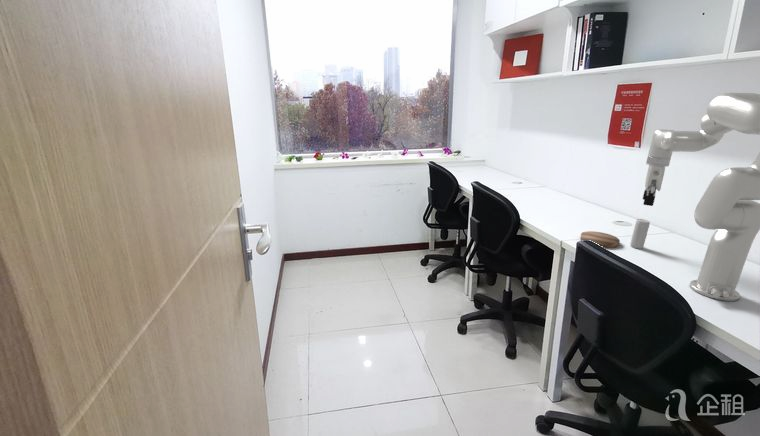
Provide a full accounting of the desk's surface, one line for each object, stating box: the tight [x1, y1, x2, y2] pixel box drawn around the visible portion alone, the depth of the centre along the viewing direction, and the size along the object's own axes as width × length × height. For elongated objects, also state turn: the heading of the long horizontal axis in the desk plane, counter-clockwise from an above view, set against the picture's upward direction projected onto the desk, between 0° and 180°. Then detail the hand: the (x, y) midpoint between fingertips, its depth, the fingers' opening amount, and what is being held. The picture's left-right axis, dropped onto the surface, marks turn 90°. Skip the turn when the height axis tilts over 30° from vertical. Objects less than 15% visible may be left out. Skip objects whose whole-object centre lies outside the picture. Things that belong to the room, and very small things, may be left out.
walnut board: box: [579, 230, 621, 249], centre depth 165 cm, size 15×15×2 cm
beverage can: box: [629, 218, 651, 250], centre depth 158 cm, size 5×5×12 cm
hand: (647, 202), depth 153 cm, fingers open, 9 cm apart
